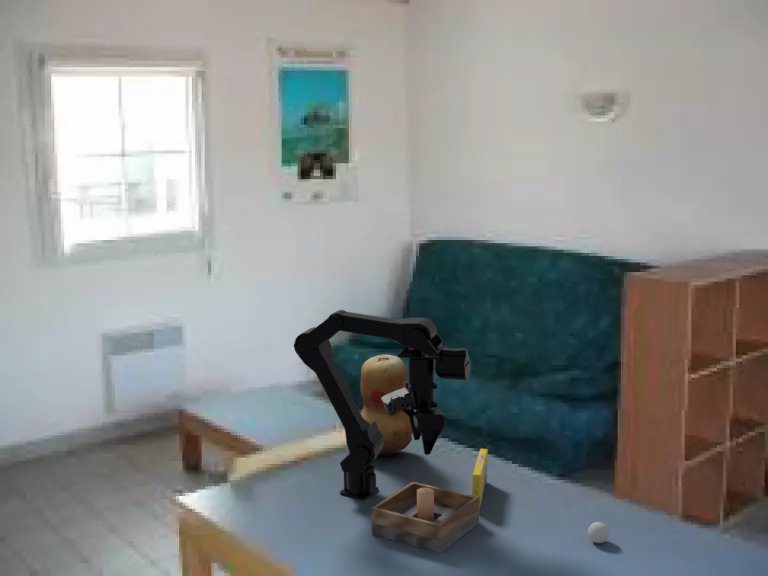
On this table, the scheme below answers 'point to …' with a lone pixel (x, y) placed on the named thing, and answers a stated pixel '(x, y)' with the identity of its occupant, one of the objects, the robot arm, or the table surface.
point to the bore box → (402, 524)
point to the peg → (425, 504)
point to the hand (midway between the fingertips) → (421, 447)
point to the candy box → (480, 475)
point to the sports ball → (598, 532)
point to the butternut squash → (375, 383)
